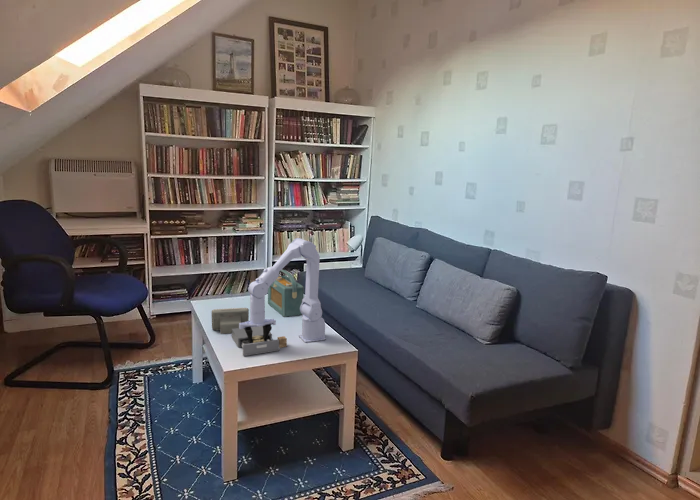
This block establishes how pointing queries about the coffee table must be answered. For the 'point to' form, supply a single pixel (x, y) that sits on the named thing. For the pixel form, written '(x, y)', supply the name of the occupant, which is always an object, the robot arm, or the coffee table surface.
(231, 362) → the coffee table surface
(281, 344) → the tan wooden block
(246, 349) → the grey drawer
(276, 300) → the radio
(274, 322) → the robot arm
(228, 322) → the digital clock
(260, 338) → the disc
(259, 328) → the player housing
